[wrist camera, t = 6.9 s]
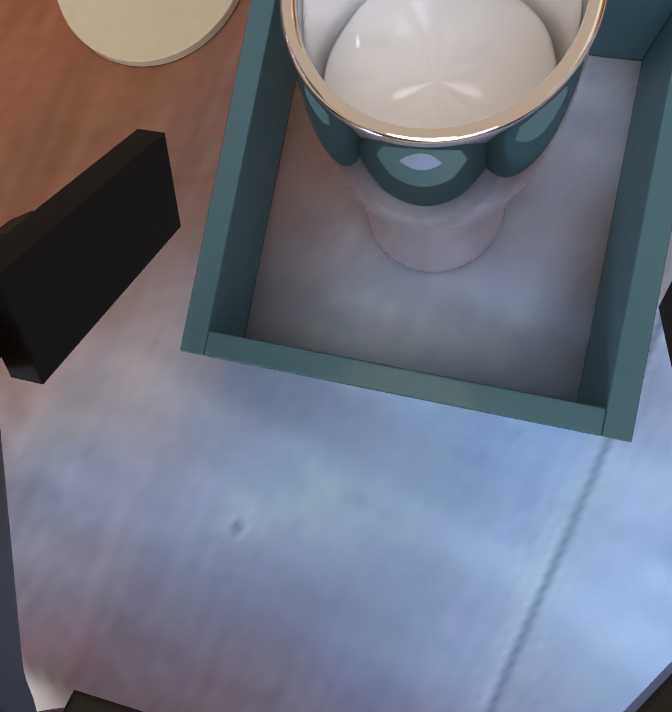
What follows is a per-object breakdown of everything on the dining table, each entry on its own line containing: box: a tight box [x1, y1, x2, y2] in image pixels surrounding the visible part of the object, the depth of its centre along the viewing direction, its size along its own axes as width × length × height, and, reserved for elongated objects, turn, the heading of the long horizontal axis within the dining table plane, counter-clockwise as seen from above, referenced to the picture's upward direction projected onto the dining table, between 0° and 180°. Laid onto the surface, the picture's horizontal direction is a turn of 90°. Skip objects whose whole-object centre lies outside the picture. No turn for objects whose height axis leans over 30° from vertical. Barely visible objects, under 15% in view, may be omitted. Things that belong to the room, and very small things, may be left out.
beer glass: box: [280, 0, 607, 272], centre depth 19 cm, size 7×7×15 cm
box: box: [181, 0, 672, 442], centre depth 25 cm, size 17×17×4 cm
